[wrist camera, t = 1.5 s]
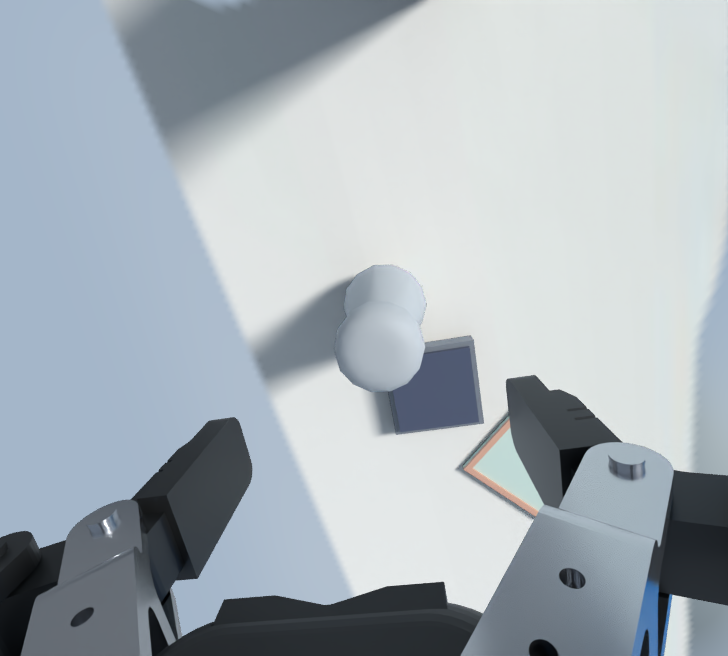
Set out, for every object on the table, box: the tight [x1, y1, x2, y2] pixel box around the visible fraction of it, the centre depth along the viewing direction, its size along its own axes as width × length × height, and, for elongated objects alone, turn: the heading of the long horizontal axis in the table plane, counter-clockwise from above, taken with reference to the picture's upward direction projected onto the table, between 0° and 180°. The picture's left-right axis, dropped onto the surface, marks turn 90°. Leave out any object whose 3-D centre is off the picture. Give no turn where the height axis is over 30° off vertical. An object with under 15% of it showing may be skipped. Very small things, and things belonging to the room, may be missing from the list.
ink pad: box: [388, 335, 484, 435], centre depth 31 cm, size 7×7×2 cm
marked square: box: [463, 416, 544, 517], centre depth 32 cm, size 8×8×1 cm
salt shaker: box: [334, 265, 427, 392], centre depth 24 cm, size 6×6×13 cm
